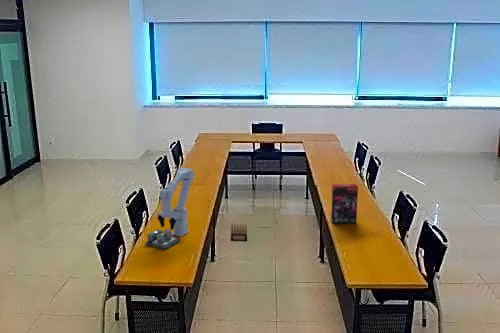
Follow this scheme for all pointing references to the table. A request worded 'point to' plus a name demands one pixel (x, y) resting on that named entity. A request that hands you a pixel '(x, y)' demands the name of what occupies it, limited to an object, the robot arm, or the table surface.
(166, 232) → the cylinder
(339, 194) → the graphics card box
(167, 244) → the dial scale
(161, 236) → the cylinder
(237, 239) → the ammunition clip
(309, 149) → the table surface
